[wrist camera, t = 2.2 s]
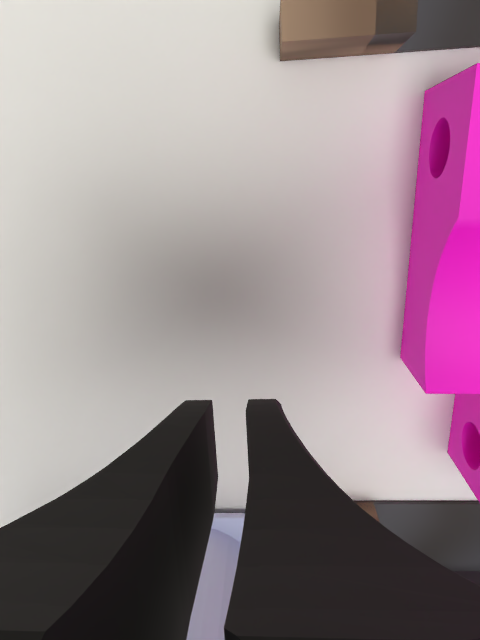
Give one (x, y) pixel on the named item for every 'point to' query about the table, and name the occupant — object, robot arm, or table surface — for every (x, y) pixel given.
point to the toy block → (448, 263)
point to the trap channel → (380, 38)
